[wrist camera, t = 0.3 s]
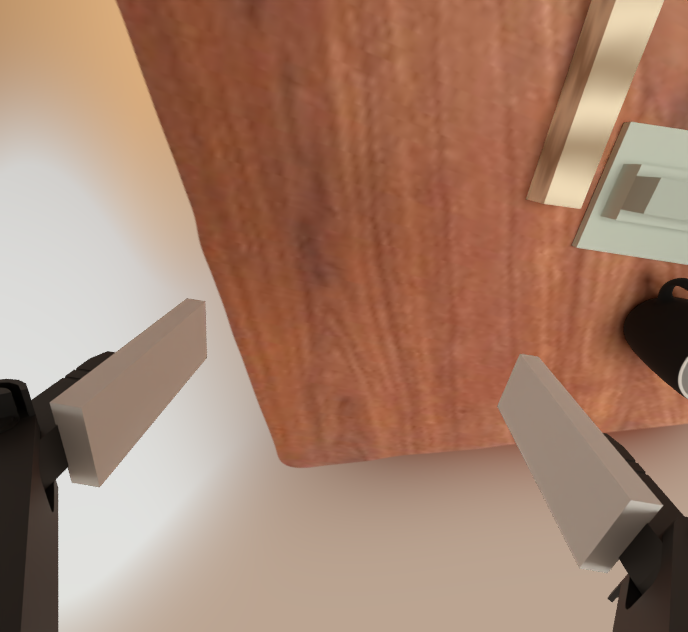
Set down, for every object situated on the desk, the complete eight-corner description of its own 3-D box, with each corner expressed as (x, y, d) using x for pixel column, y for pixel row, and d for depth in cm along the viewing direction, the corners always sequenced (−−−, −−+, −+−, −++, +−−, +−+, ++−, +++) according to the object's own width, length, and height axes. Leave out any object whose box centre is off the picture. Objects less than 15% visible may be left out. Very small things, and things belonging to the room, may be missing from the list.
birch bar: (619, -88, 27) (662, -132, 23) (663, -83, 27) (714, -126, 23) (524, 198, 37) (543, 203, 33) (557, 203, 37) (580, 208, 32)
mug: (695, 340, 42) (787, 392, 32) (615, 362, 44) (680, 417, 34) (693, 250, 37) (798, 280, 28) (603, 279, 39) (674, 316, 30)
